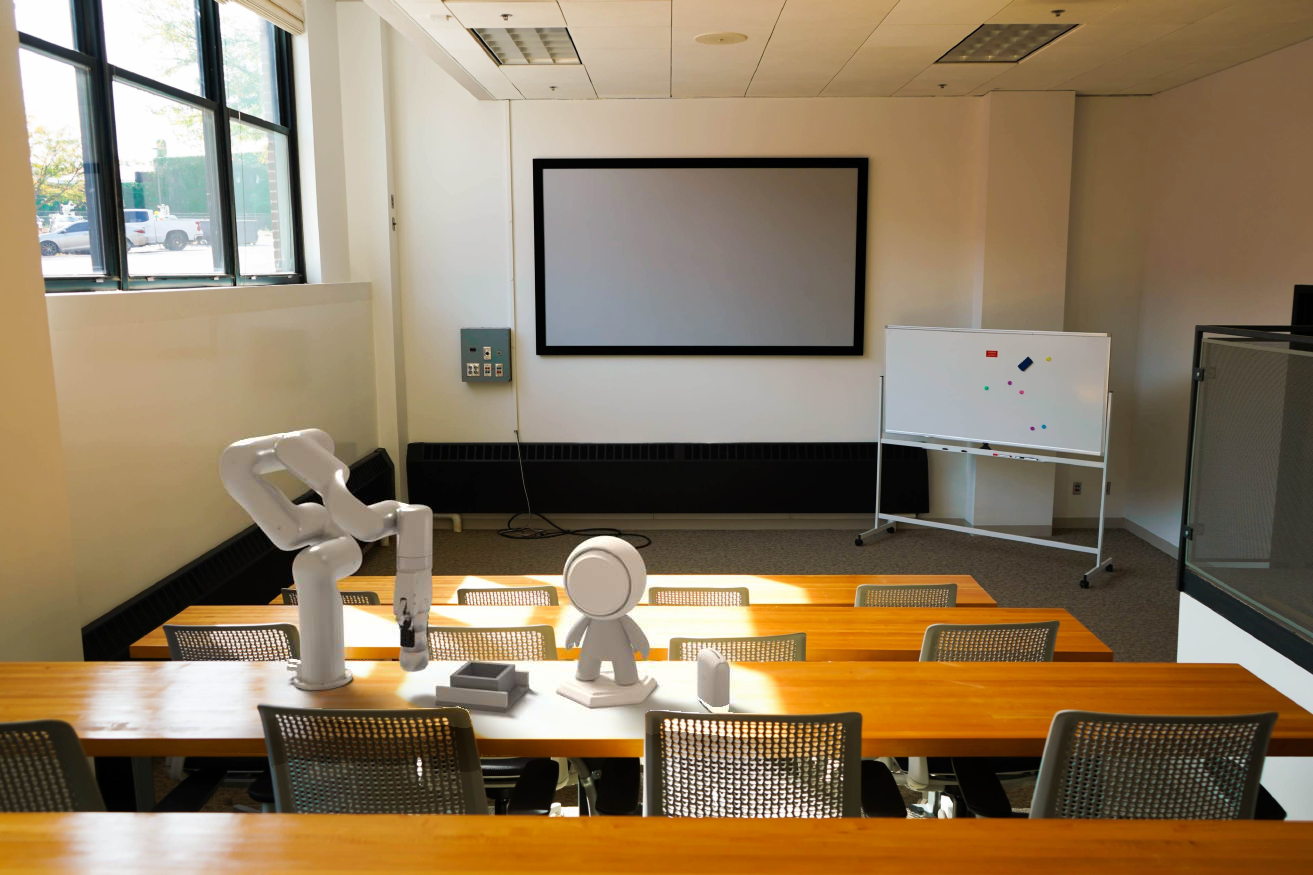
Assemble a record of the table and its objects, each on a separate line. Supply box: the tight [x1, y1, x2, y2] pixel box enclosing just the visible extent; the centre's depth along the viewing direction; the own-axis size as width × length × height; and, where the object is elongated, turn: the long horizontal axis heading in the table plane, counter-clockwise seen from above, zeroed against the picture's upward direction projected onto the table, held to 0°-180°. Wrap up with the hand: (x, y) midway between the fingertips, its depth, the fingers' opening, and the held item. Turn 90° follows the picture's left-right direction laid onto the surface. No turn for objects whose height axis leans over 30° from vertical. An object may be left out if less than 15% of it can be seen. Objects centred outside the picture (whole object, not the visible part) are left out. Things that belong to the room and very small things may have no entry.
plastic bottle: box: [398, 598, 430, 673], centre depth 213 cm, size 6×7×20 cm
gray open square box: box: [435, 659, 530, 713], centre depth 212 cm, size 16×14×6 cm
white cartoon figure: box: [555, 535, 658, 709], centre depth 215 cm, size 20×23×35 cm
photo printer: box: [696, 647, 731, 707], centre depth 207 cm, size 10×4×12 cm, turn 20°
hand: (414, 641), depth 214 cm, fingers closed on plastic bottle, 5 cm apart
